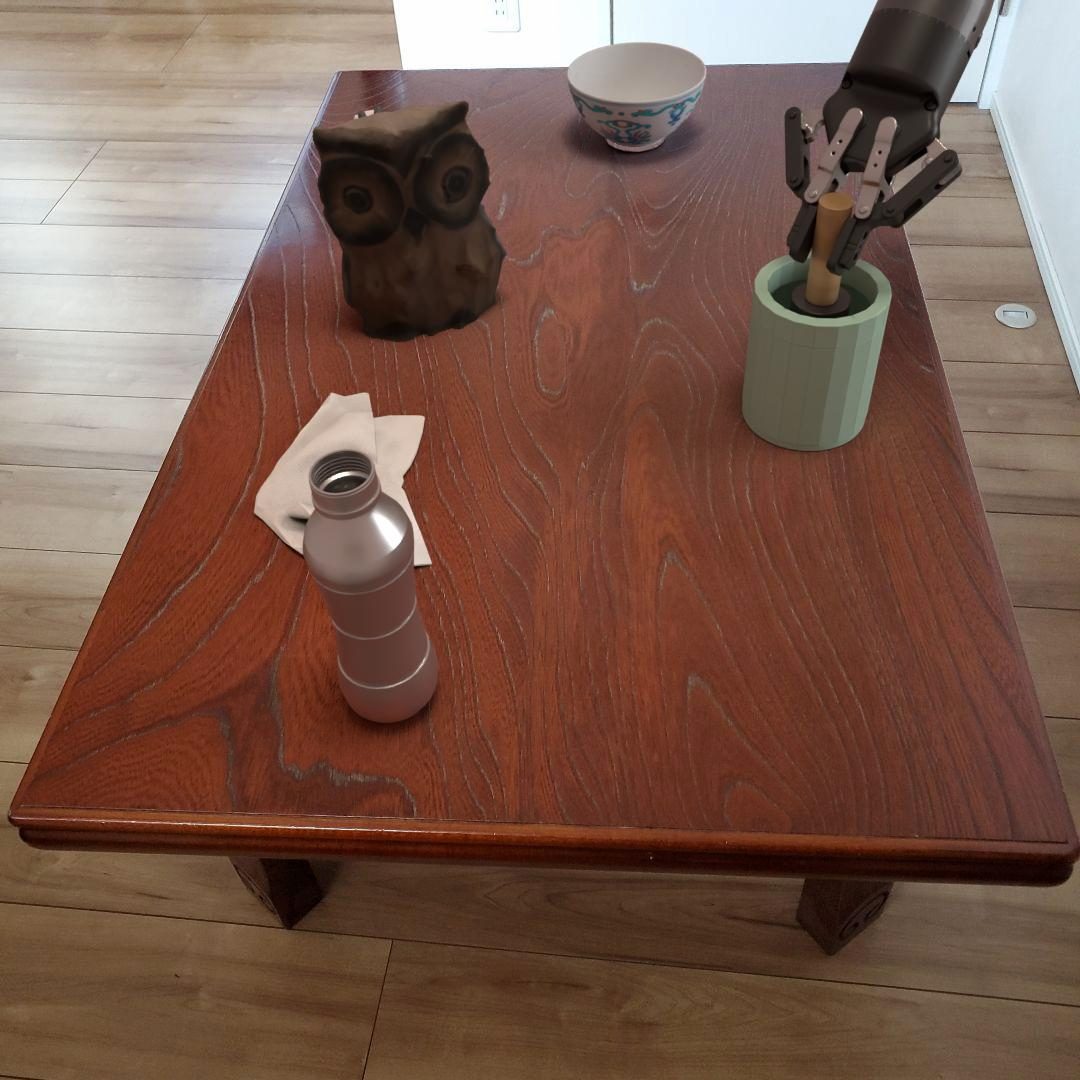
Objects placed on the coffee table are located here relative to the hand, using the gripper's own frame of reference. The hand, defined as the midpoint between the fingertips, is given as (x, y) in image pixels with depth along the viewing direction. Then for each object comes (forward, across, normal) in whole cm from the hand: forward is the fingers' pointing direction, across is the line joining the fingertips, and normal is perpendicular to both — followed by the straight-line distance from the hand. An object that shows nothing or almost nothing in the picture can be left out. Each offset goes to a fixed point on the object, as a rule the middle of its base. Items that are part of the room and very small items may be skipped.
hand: (815, 264), depth 80 cm
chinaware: (-14, -38, +34) cm, 53 cm away
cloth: (+30, -24, -9) cm, 40 cm away
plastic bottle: (+38, -8, -17) cm, 43 cm away
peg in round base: (+5, 0, +8) cm, 9 cm away
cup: (+9, 0, +12) cm, 15 cm away
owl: (+13, -37, +8) cm, 40 cm away
